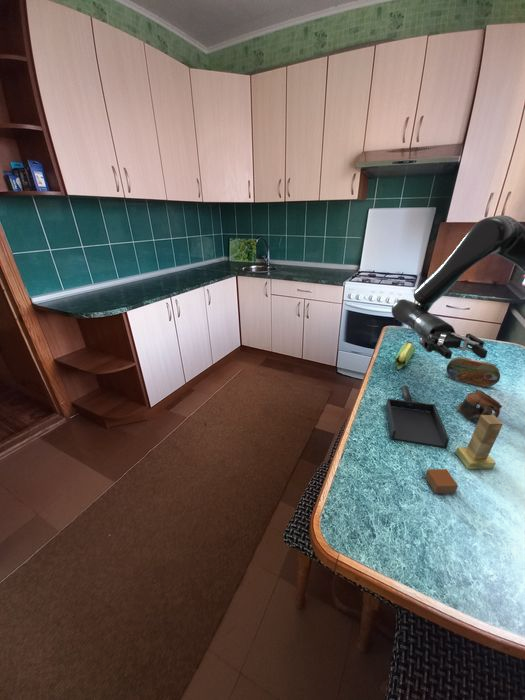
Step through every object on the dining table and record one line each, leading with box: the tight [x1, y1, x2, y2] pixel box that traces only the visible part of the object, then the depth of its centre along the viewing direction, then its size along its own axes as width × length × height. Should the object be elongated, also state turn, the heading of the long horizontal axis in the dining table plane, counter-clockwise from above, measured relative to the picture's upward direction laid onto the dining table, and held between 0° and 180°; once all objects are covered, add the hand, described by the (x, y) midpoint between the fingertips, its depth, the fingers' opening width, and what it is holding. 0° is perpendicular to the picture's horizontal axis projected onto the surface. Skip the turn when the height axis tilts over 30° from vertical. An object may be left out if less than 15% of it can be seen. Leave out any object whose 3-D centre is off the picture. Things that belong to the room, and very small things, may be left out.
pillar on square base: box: [454, 414, 504, 470], centre depth 68 cm, size 6×5×13 cm
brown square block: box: [424, 468, 459, 494], centre depth 65 cm, size 4×4×2 cm
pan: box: [385, 384, 450, 449], centre depth 86 cm, size 25×13×3 cm, turn 165°
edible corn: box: [394, 341, 416, 370], centre depth 115 cm, size 5×20×5 cm, turn 144°
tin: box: [446, 356, 501, 388], centre depth 100 cm, size 15×3×8 cm, turn 55°
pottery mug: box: [456, 389, 503, 422], centre depth 84 cm, size 12×10×8 cm
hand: (467, 355), depth 71 cm, fingers open, 8 cm apart
